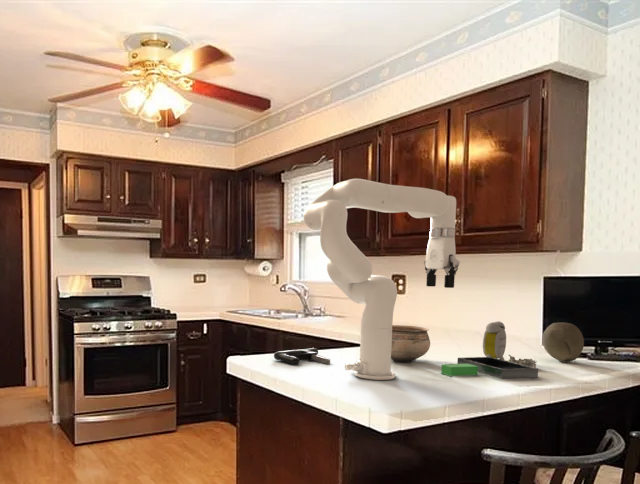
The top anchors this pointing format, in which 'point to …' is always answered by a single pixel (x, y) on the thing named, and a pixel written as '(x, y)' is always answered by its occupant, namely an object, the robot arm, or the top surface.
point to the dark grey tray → (500, 368)
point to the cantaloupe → (563, 341)
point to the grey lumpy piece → (523, 361)
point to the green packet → (459, 369)
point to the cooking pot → (409, 342)
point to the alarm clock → (494, 340)
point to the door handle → (300, 356)
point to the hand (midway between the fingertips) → (439, 287)
